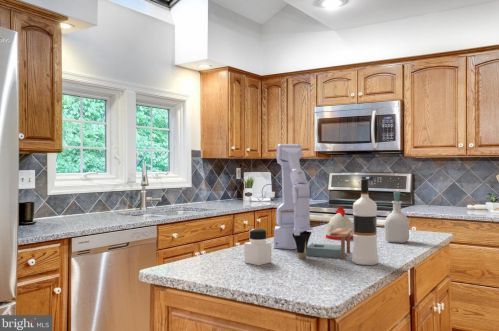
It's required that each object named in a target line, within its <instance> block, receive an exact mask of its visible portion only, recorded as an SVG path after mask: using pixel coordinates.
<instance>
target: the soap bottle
mask: <svg viewBox="0 0 499 331" xmlns="http://www.w3.org/2000/svg"><path fill="white" fill-rule="evenodd" d="M401 195H403V196H406V194H404V193H401V191H393V198H394V200H392V201H391V203H392V211H391V213H389V214H388V215H387V216H386V218H385V220H384V239H385V241H386V242H387V243H396V244H405V243H407V242H408V241H409V239H410V221H409V218H408V217H407V215H405V214H404V213H403V212H402V210H401V209H402V206H401V204H402V203H403V201H401V200H400V196H401Z"/></svg>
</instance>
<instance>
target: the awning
mask: <svg viewBox="0 0 499 331" xmlns="http://www.w3.org/2000/svg"><path fill="white" fill-rule="evenodd" d="M351 232H352V229H347V228H337V229H335V230H334V231H333V232H331V233H330V236H341V240H340V243H341V244H340V245H341V257H340V259H341V260H345V259H346V254H350V253H351V240H350V233H351ZM345 237H347V240H345Z"/></svg>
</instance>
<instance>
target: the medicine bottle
mask: <svg viewBox="0 0 499 331" xmlns="http://www.w3.org/2000/svg"><path fill="white" fill-rule="evenodd" d="M248 233H249V241H247V242H244V243H243V246H244V248H243V249H244V252H243V254H244V262H243V263H245V264H250V265H255V266H262V265H266V264H269V263H270V264H271V263H272V242H270V241H269V242H268V241H267V230H265V229H263V228H252V229H250V230H249V232H248Z"/></svg>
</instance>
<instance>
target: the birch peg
mask: <svg viewBox="0 0 499 331" xmlns="http://www.w3.org/2000/svg"><path fill="white" fill-rule="evenodd" d="M297 259H299V260H306V259H307V255H306V242H305V249H304V253H298V252H297Z"/></svg>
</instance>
